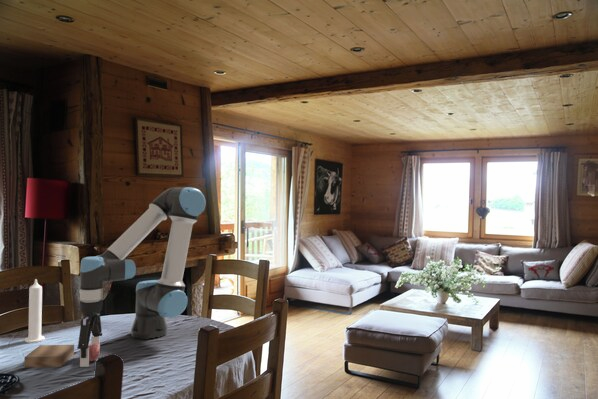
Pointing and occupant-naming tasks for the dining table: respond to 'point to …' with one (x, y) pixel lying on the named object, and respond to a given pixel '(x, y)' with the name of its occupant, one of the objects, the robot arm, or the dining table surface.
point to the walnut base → (49, 356)
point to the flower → (93, 352)
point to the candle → (35, 313)
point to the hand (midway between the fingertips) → (89, 360)
